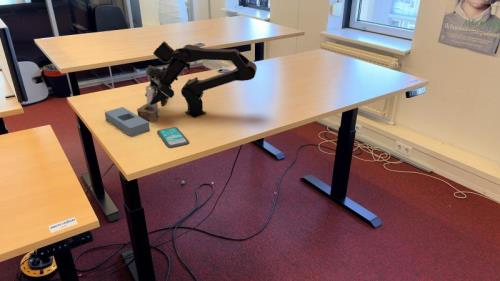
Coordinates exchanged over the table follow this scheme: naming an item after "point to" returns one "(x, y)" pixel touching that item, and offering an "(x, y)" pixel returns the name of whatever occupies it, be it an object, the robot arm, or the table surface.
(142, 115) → the v block
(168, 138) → the smartphone
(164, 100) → the hand tool
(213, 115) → the table surface
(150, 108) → the axle
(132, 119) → the grey block with hole
